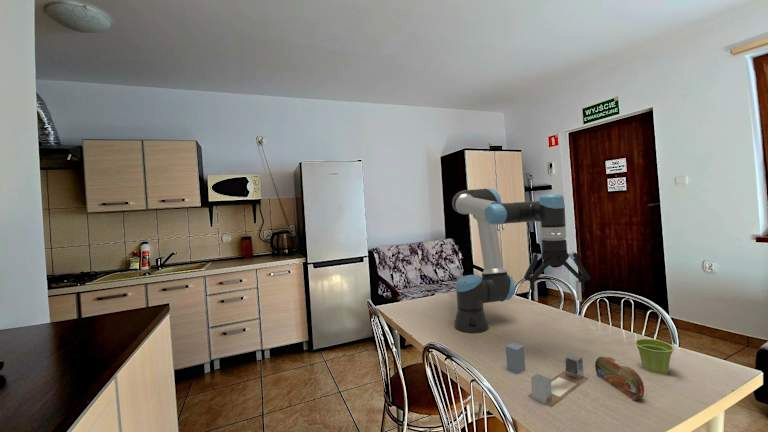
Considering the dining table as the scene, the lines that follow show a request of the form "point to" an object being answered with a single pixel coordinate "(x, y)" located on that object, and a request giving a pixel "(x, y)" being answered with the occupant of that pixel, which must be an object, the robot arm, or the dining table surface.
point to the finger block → (515, 358)
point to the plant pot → (655, 355)
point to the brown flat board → (562, 387)
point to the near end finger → (541, 388)
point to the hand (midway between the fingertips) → (557, 300)
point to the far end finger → (574, 366)
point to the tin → (620, 377)
